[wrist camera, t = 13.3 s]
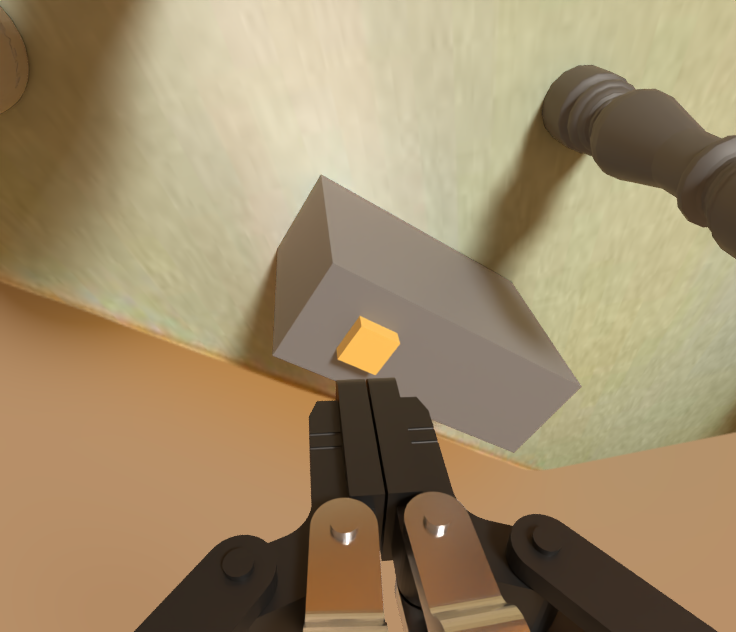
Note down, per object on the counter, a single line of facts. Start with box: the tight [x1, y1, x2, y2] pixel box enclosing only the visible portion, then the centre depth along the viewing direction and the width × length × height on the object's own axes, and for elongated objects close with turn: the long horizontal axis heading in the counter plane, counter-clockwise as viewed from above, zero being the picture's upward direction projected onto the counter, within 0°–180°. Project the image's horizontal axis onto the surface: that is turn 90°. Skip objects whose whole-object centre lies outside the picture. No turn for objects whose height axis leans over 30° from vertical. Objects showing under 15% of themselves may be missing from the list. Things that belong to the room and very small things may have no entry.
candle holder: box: [542, 65, 736, 259], centre depth 35 cm, size 6×6×25 cm
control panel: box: [272, 175, 582, 453], centre depth 45 cm, size 8×22×17 cm, turn 58°
